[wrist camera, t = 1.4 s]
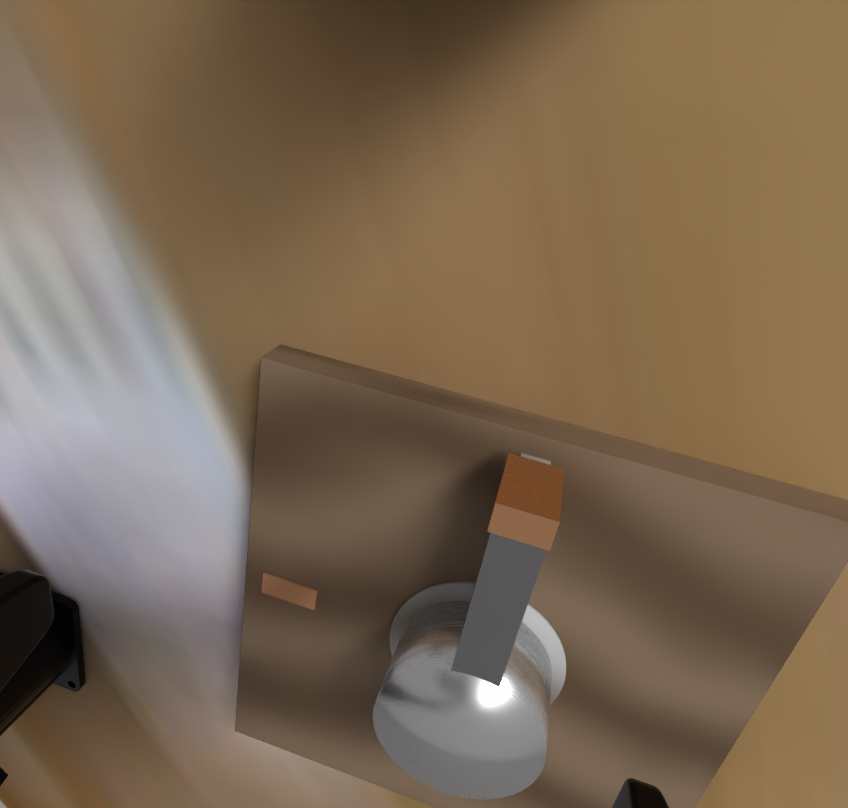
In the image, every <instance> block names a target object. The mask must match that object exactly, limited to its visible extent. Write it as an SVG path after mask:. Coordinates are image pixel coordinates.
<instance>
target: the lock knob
mask: <svg viewBox="0 0 848 808" xmlns="http://www.w3.org/2000/svg"><path fill="white" fill-rule="evenodd" d="M563 480H564V469H563V468H559V467H556V466H552V465H549V464H545V463H542V462H538V461H535V460H531V459H528V458H525V457H521V456H518V455H514V454H511V453H509V454H508V457H507V461H506V464H505V468H504V471H503V475H502V479H501V482H500V486H499V490H498V493H497V497H496V501H495V505H494V508H493V512H492V516H491V519H490V523H489V527H488V530H487V532H489V535H488V539H487V542H486V546H485V549H484V553H483V556H482V560H481V563H480V567H479V570H478V574H477V577H476V581H475V584H474V588H473V591H472V595H471V598H470V602H467V601H451V602H444V603H439V604H436V605H432V606H430V607H428V608H425V609H423V610H422V611H420V612H419V613H417V614H416V615H415V616H414V617H413V618H411V619H410V621H409V622H408V623H407V624H406V626H405V628H404V630H403V632H402V634H401V637H400V639H399V642H398V645H397V647H396V650H395V652H394V655H393V658H392V660H391V663H390V665H389V668H388V671H387V673H386V676H385V678H384V681H383V683H382V686H381V689H380V691H379V694H378V696H377V699H376V702H375V705H374V709H373V724H374V729H375V732H376V735H377V737H378V740H379V742H380V743H381V745H382V747H383V749H384V750H385V751H386V753H387V754H388V755H389V757H390V758H391V759H392V760H393V761H394V762H395V763H396V764H397V765H398V766H399V767H400V768H401V769H402V770H404V771H405V772H406V773H408V774H409V775H410V776H412V777H413V778H415V779H416V780H418V781H420V782H421V783H423V784H425V785H427V786H429V787H431V788H434V789H436V790H438V791H441V792H444V793H447V794H450V795H454V796H458V797H463V798H470V799H497V798H503V797H507V796H511V795H514V794H516V793H518V792H521V791H522V790H524V789H526V788H527V787H529V786H530V785H531V784H532V783H534V782H535V780H536V779H537V778H538V777H539V775H540V774H541V772H542V770H543V767H544V764H545V761H546V750H547V737H548V724H549V711H550V698H551V684H552V666H551V662H550V658H549V656H548V653H547V651H546V649H545V647H544V646H543V644H542V642H541V641H540V640H539V638H538V637H537V636H536V635H535V634H534V633H533V632H532V631H531V630H530V629H529V628H528V627H527V626H526V625H525V624H523V623H522V620H523V617H524V614H525V611H526V608H527V605H528V602H529V599H530V596H531V593H532V590H533V587H534V585H535V582H536V579H537V576H538V573H539V570H540V567H541V564H542V561H543V558H544V555H545V552H546V550H548V551H550V549H551V546H552V543H553V541H554V538H555V535H556V532H557V529H558V526H559V523H560V515H561V503H562V492H563Z"/></svg>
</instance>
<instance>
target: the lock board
mask: <svg viewBox="0 0 848 808" xmlns="http://www.w3.org/2000/svg"><path fill="white" fill-rule="evenodd" d="M509 453H511V454H514V455H518V456H521V457H525V458H528V459H531V460H535V461H538V462H542V463H545V464H549V465H552V466H556V467H559V468H563V469H564V480H563V492H562V503H561V515H560V523H559V526H558V529H557V532H556V535H555V538H554V541H553V543H552V546H551V549H550V551H548V550H546V552H545V555H544V558H543V561H542V564H541V567H540V570H539V573H538V576H537V579H536V582H535V585H534V587H533V590H532V593H531V596H530V599H529V602H528V605H527V608H526V611H525V614H524V617H523V620H522V623H523V624H525V625H526V626H527V627H528V628H529V629H530V630H531V631H532V632H533V633H534V634H535V635H536V636H537V637H538V638H539V640H540V641H541V642H542V644H543V646H544V647H545V649H546V651H547V653H548V656H549V658H550V662H551V666H552V684H551V698H550V711H549V724H548V737H547V750H546V761H545V764H544V767H543V770H542V772H541V774H540V775H539V777H538V778H537V779H536V780H535V782H534V783H532V784H531V785H530V786H529V787H527V788H526V789H524V790H522V791H521V792H518V793H516V794H514V795H511V796H507V797H503V798H497V799H470V798H463V797H458V796H454V795H450V794H447V793H444V792H441V791H438V790H436V789H434V788H431V787H429V786H427V785H425V784H423V783H421V782H420V781H418V780H416V779H415V778H413V777H412V776H410V775H409V774H408V773H406V772H405V771H404V770H402V769H401V768H400V767H399V766H398V765H397V764H396V763H395V762H394V761H393V760H392V759H391V758H390V757H389V755H388V754H387V753H386V751H385V750H384V749H383V747H382V745H381V743H380V742H379V740H378V737H377V735H376V732H375V729H374V724H373V709H374V705H375V702H376V699H377V696H378V694H379V691H380V689H381V686H382V683H383V681H384V678H385V676H386V673H387V671H388V668H389V665H390V663H391V660H392V658H393V655H394V652H395V650H396V647H397V645H398V642H399V639H400V637H401V634H402V632H403V630H404V628H405V626H406V624H407V623H408V622H409V621H410V619H411V618H413V617H414V616H415V615H416V614H417V613H419V612H420V611H422V610H423V609H425V608H428V607H430V606H432V605H436V604H439V603H444V602H451V601H467V602H470V598H471V595H472V591H473V588H474V584H475V581H476V577H477V574H478V570H479V567H480V563H481V560H482V556H483V553H484V549H485V546H486V542H487V539H488V535H489V532H487V530H488V527H489V523H490V519H491V516H492V512H493V508H494V505H495V501H496V497H497V493H498V490H499V486H500V482H501V479H502V475H503V471H504V468H505V464H506V461H507V457H508V454H509ZM847 562H848V501H847V500H843V499H840V498H836V497H832V496H829V495H825V494H822V493H818V492H814V491H811V490H807V489H803V488H800V487H796V486H792V485H789V484H785V483H782V482H778V481H774V480H771V479H767V478H763V477H760V476H756V475H752V474H749V473H745V472H742V471H738V470H734V469H731V468H727V467H723V466H720V465H716V464H712V463H709V462H705V461H702V460H698V459H694V458H691V457H687V456H683V455H680V454H676V453H672V452H669V451H665V450H662V449H658V448H654V447H651V446H647V445H643V444H640V443H636V442H632V441H629V440H625V439H622V438H618V437H614V436H611V435H607V434H603V433H600V432H596V431H592V430H589V429H585V428H582V427H578V426H574V425H571V424H567V423H563V422H560V421H556V420H552V419H549V418H545V417H542V416H538V415H534V414H531V413H527V412H523V411H520V410H516V409H512V408H509V407H505V406H502V405H498V404H494V403H491V402H487V401H483V400H480V399H476V398H472V397H469V396H465V395H462V394H458V393H454V392H451V391H447V390H443V389H440V388H436V387H432V386H429V385H425V384H422V383H418V382H414V381H411V380H407V379H403V378H400V377H396V376H393V375H389V374H385V373H382V372H378V371H374V370H371V369H367V368H363V367H360V366H356V365H353V364H349V363H345V362H342V361H338V360H334V359H331V358H327V357H323V356H320V355H316V354H313V353H309V352H305V351H302V350H298V349H294V348H291V347H287V346H283V345H280V346H278V347H277V348H275V349H274V350H272V351H271V352H269V353H268V354H266V355H265V356H263V357H261V368H260V382H259V397H258V411H257V425H256V439H255V454H254V468H253V482H252V496H251V511H250V525H249V539H248V553H247V567H246V582H245V596H244V610H243V624H242V639H241V653H240V667H239V681H238V696H237V710H236V724H235V731H237V732H240V733H242V734H245V735H247V736H250V737H253V738H255V739H258V740H261V741H263V742H266V743H268V744H271V745H274V746H276V747H279V748H281V749H284V750H287V751H289V752H292V753H295V754H297V755H300V756H302V757H305V758H308V759H310V760H313V761H316V762H318V763H321V764H323V765H326V766H329V767H331V768H334V769H337V770H339V771H342V772H344V773H347V774H350V775H352V776H355V777H357V778H360V779H363V780H365V781H368V782H371V783H373V784H376V785H378V786H381V787H384V788H386V789H389V790H392V791H394V792H397V793H399V794H402V795H405V796H407V797H410V798H412V799H415V800H418V801H420V802H423V803H426V804H428V805H431V806H433V807H436V808H612V806H613V804H614V802H615V800H616V798H617V796H618V794H619V792H620V789H621V787H622V785H623V783H624V782H625V781H626V780H627V779H628V778H633V779H636V780H639V781H642V782H645V783H648V784H651V785H654V786H655V787H657V788H658V789H659V790H660V791H661V793H662V794H663V796H664V798H665V800H666V802H667V804H668V806H669V808H694V807H695V806H696V804H697V803H698V801H699V799H700V798H701V796H702V795H703V793H704V791H705V790H706V788H707V787H708V785H709V783H710V782H711V780H712V779H713V777H714V775H715V774H716V772H717V771H718V769H719V767H720V766H721V764H722V763H723V761H724V759H725V758H726V756H727V755H728V753H729V751H730V750H731V748H732V747H733V745H734V743H735V742H736V740H737V739H738V737H739V735H740V734H741V732H742V731H743V729H744V727H745V726H746V724H747V723H748V721H749V719H750V718H751V716H752V715H753V713H754V711H755V710H756V708H757V707H758V705H759V703H760V702H761V700H762V699H763V697H764V695H765V694H766V692H767V691H768V689H769V687H770V686H771V684H772V683H773V681H774V679H775V678H776V676H777V674H778V673H779V671H780V670H781V668H782V666H783V665H784V663H785V662H786V660H787V658H788V657H789V655H790V654H791V652H792V650H793V649H794V647H795V646H796V644H797V642H798V641H799V639H800V638H801V636H802V634H803V633H804V631H805V630H806V628H807V626H808V625H809V623H810V622H811V620H812V618H813V617H814V615H815V614H816V612H817V610H818V609H819V607H820V606H821V604H822V602H823V601H824V599H825V598H826V596H827V594H828V593H829V591H830V590H831V588H832V586H833V585H834V583H835V582H836V580H837V578H838V577H839V575H840V574H841V572H842V570H843V569H844V567H845V566H846V564H847Z"/></svg>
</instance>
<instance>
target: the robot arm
mask: <svg viewBox="0 0 848 808" xmlns="http://www.w3.org/2000/svg"><path fill="white" fill-rule="evenodd" d="M52 683H54V684H56V685H59V686H62V687H64V688H67V689H69V690H72V691H79V690H80V689H81V688H82V687H83V685H84V684H85V673H84V662H83V651H82V640H81V628H80V617H79V608H78V605H77V604H76V602H75V601H74V600H72V599H70V598H68V597H65V596H62V595H59V594H57V593H54V592H51V589H50V583H49V580H48V579H47V577H46V576H44V575H41V574H38V573H35V572H32V571H29V570H17V571H14V572H11V573H8V574H5V575H4V574H1V573H0V736H1V735H2V734H3V733H4V732H5V731H6V730H7V729H8V728H9V727H10V726H11V725H12V724H13V723H14V722H15V721H16V720H17V719H18V718H19V717H20V716H21V715H22V714H23V713H24V712H25V711H26V710H27V709H28V708H29V707H30V705H31V704H32V703H33V702H34V701H35V700H36V699H37V698H38V697H39V696H40V695H41V694H42V693H43V692H44V691H45V690H46V689H47V688H48V687H49V686H50V685H51V684H52ZM7 776H8V774H7V773H6V772H5V771H4V770H3V769H2V768H1V767H0V786H1V784H2V783H3V782H4V780H5V779H6V778H7ZM612 808H669V806H668V804H667V802H666V800H665V798H664V796H663V794H662V793H661V791H660V790H659V789H658V788H657V787H655V786H654V785H651V784H648V783H645V782H642V781H639V780H636V779H633V778H628V779H627V780H626V781H625V782H624V783H623V785H622V787H621V789H620V792H619V794H618V796H617V798H616V800H615V802H614V804H613V806H612Z"/></svg>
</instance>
